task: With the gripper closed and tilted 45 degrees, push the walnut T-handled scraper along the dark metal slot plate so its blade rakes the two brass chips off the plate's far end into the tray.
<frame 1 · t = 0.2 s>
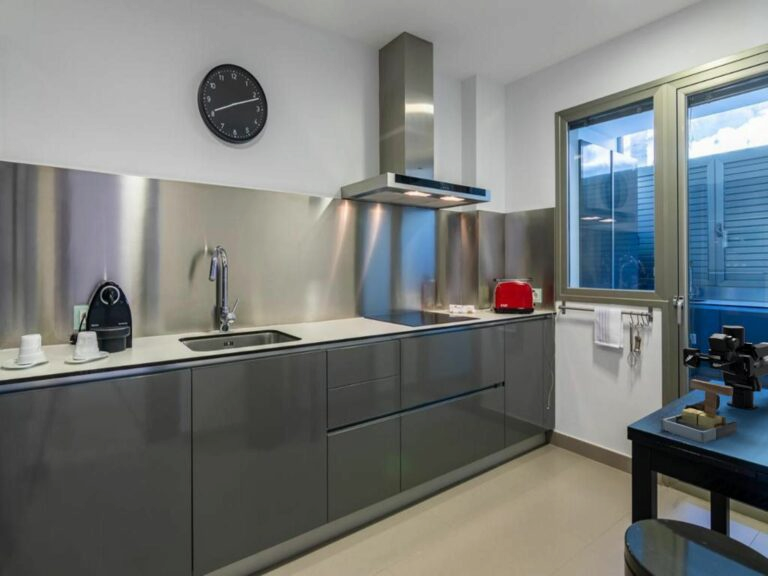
hand: (701, 365, 131), 17 cm above the table, tool horizontal, fingers open, 9 cm apart
hand tool: (703, 412, 134), point 1 cm above the table, touching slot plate
chip b: (709, 426, 119), point 2 cm above the table, touching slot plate
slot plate: (704, 429, 122), on the table
chip a: (692, 421, 123), point 2 cm above the table, touching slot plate
tray: (687, 434, 119), on the table
scraper: (709, 402, 123), point 8 cm above the table, slide at 0.0 cm
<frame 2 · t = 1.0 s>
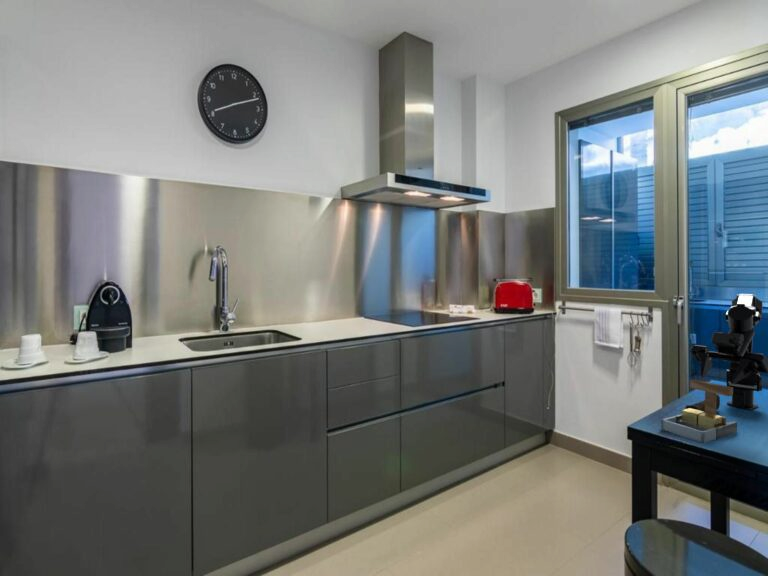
hand: (716, 379, 124), 14 cm above the table, tool tilted 45°, fingers open, 8 cm apart
nothing on the table moved.
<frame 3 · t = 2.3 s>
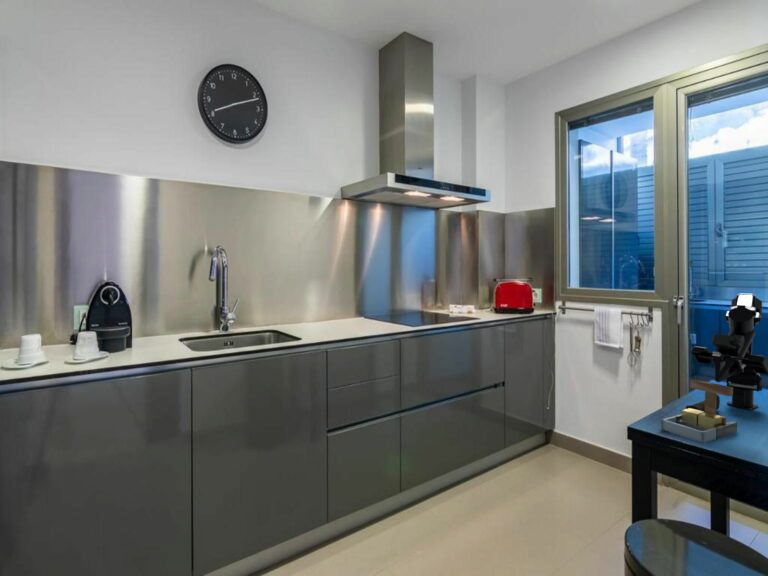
hand: (717, 381, 124), 13 cm above the table, tool tilted 45°, fingers closed
nothing on the table moved.
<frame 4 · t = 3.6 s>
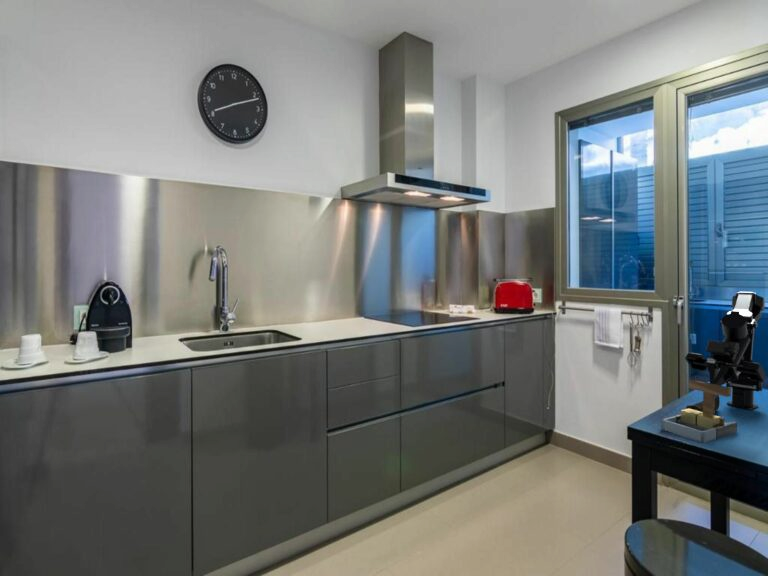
hand: (711, 388, 123), 12 cm above the table, tool tilted 45°, fingers closed, pressing on scraper
chip b: (708, 426, 119), point 2 cm above the table
chip a: (691, 421, 123), point 2 cm above the table
scraper: (707, 402, 122), point 8 cm above the table, slide at 1.0 cm, touching gripper
everything else where it was.
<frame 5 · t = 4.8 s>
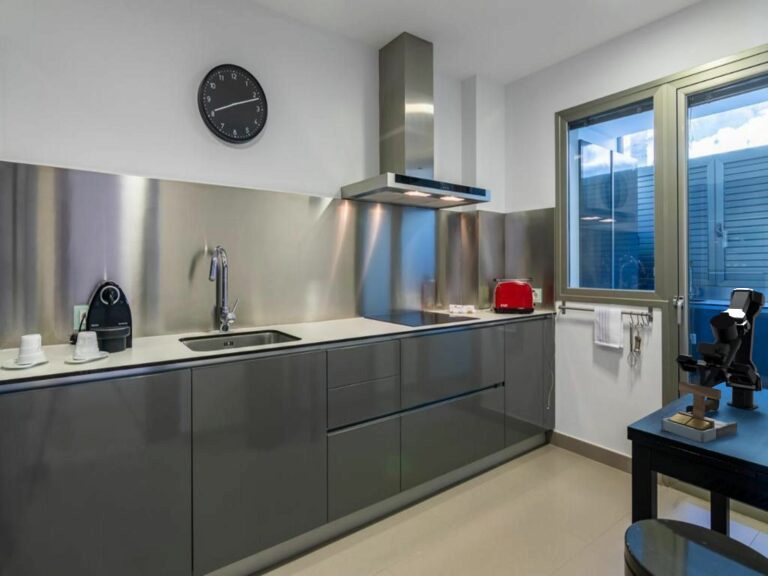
hand: (701, 390, 121), 12 cm above the table, tool tilted 45°, fingers closed, pressing on scraper
chip b: (699, 433, 117), point 1 cm above the table, tilted 17°, touching scraper
chip a: (682, 427, 121), point 1 cm above the table, tilted 18°, touching scraper, tray
scraper: (697, 405, 120), point 8 cm above the table, slide at 6.0 cm, touching chip a, chip b, gripper
everything else where it was.
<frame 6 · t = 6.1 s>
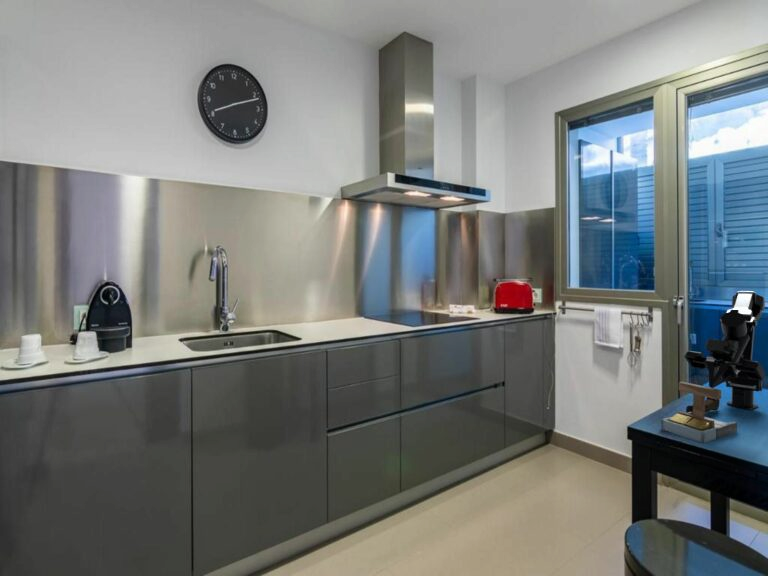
hand: (710, 386, 123), 12 cm above the table, tool tilted 45°, fingers closed
chip b: (699, 433, 117), point 1 cm above the table, tilted 16°, touching scraper, tray
scraper: (697, 405, 120), point 8 cm above the table, slide at 6.0 cm, touching chip a, chip b
everything else where it was.
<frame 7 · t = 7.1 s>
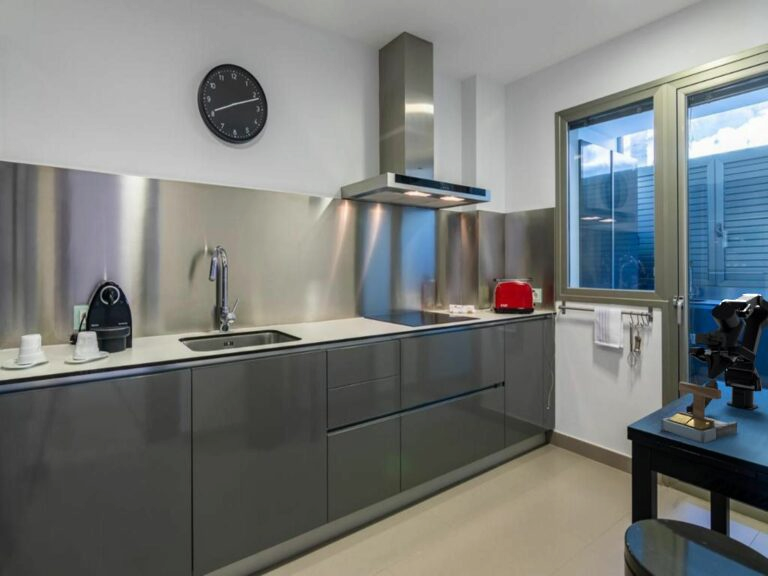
hand: (710, 378, 130), 13 cm above the table, tool tilted 35°, fingers closed
hand tool: (704, 403, 135), point 3 cm above the table, touching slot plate
everything else where it was.
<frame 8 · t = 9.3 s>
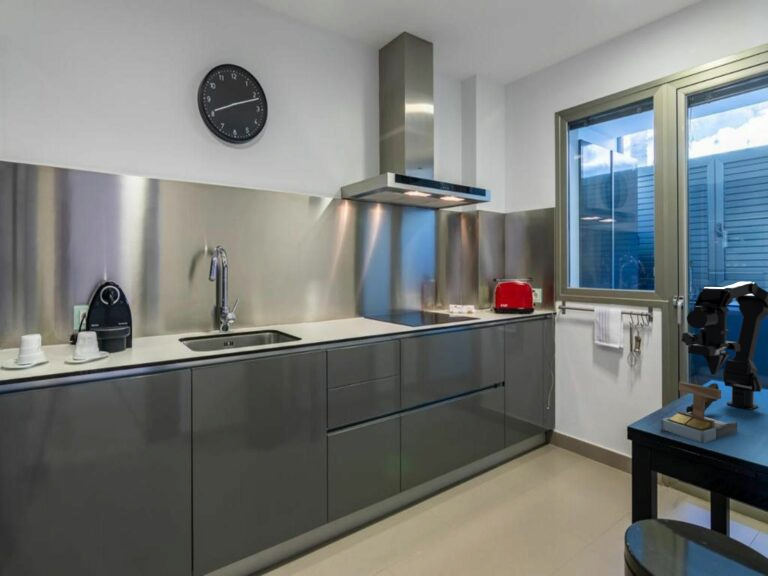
hand: (713, 374, 134), 13 cm above the table, tool pointing down, fingers closed
at the end: chip a inside the target area on the tray (2.5 cm from its centre), point 0.9 cm above the tray's base; chip b inside the target area on the tray (2.5 cm from its centre), point 0.9 cm above the tray's base; scraper slide at 6.0 cm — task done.
